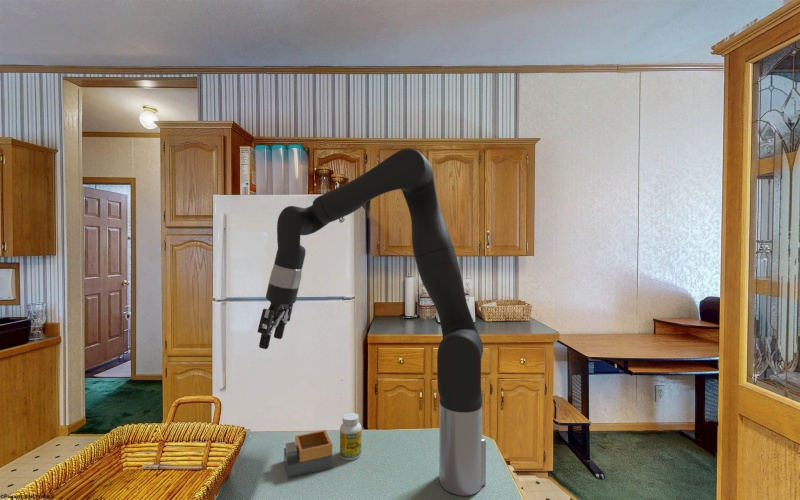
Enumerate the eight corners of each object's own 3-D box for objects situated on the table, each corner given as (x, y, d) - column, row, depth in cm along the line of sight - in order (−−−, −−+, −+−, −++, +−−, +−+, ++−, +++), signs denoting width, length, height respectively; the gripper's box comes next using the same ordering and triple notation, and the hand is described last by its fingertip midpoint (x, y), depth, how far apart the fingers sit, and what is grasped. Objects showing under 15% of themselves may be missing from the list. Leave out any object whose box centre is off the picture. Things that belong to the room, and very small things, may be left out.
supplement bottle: (355, 446, 92) (355, 409, 92) (365, 456, 88) (365, 417, 88) (336, 453, 89) (336, 414, 89) (345, 463, 85) (345, 423, 85)
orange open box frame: (325, 451, 90) (325, 429, 90) (332, 468, 83) (332, 444, 83) (283, 460, 86) (283, 438, 86) (287, 479, 79) (287, 454, 79)
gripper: (287, 291, 85) (272, 356, 86) (307, 282, 99) (294, 338, 100) (257, 283, 85) (243, 347, 86) (282, 276, 99) (269, 331, 100)
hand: (270, 342), depth 93 cm, fingers open, 8 cm apart
